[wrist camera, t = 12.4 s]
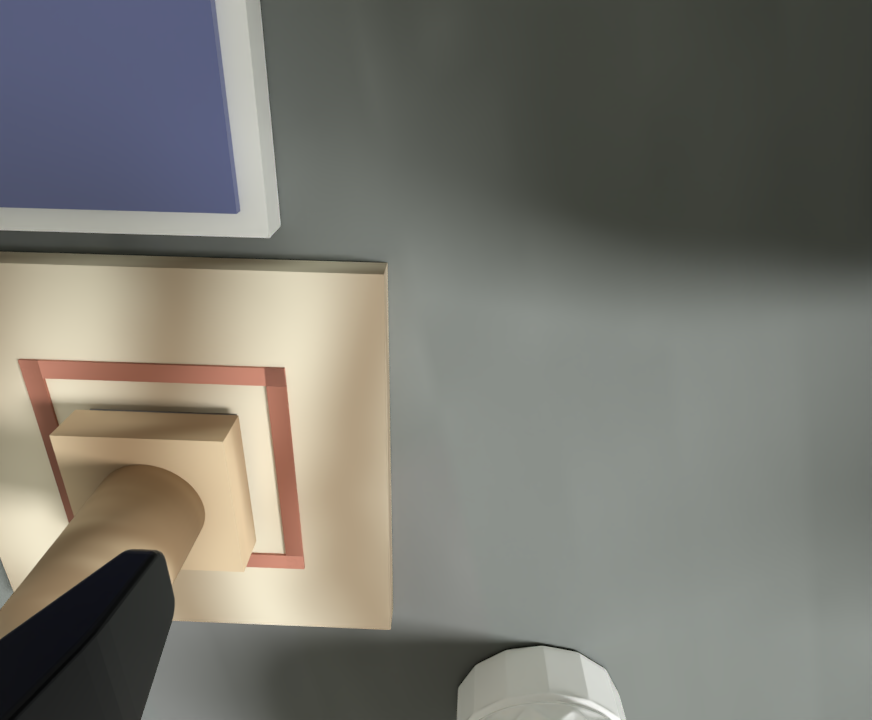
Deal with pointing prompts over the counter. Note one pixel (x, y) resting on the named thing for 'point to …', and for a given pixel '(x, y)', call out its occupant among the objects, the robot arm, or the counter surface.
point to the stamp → (143, 499)
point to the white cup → (538, 688)
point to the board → (215, 393)
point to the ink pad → (136, 118)
